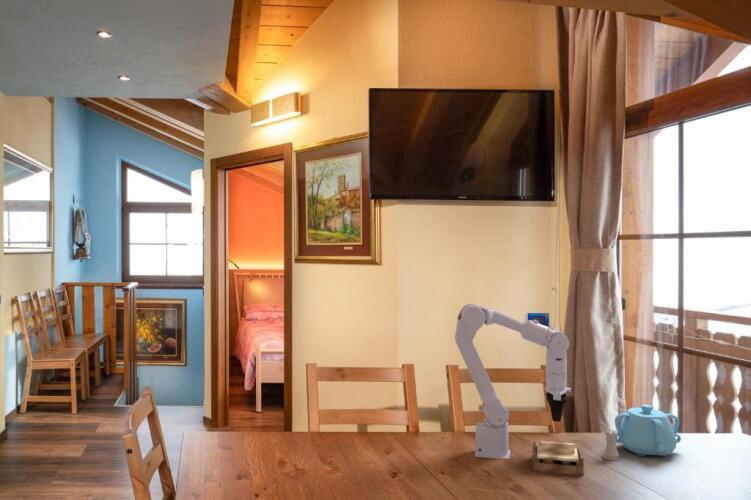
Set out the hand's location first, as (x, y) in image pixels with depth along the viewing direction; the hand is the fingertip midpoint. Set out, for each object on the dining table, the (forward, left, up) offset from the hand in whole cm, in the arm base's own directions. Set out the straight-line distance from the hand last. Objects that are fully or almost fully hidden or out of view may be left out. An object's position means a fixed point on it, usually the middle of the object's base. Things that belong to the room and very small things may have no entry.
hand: (556, 419), depth 179 cm
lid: (0, -11, -7) cm, 12 cm away
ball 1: (-2, -12, -10) cm, 15 cm away
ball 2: (+3, -9, -10) cm, 14 cm away
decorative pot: (+26, +11, -11) cm, 30 cm away
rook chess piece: (+15, +1, -11) cm, 18 cm away
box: (0, -10, -10) cm, 14 cm away
